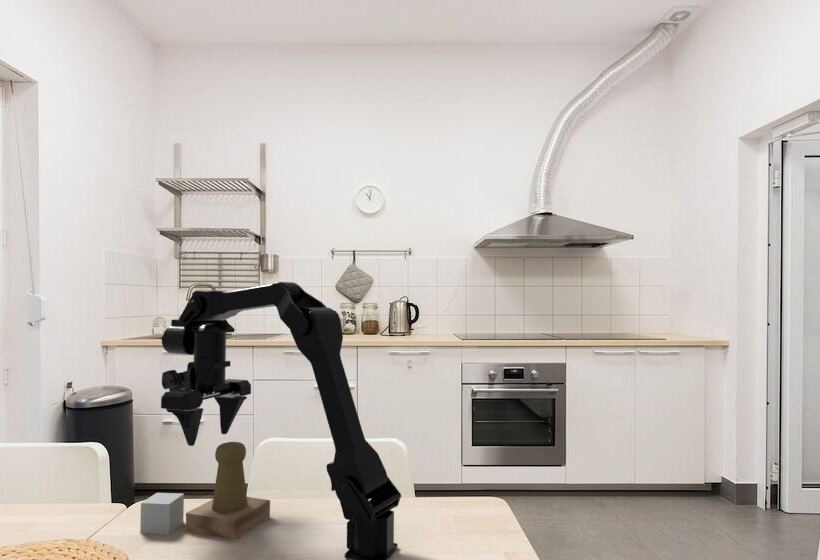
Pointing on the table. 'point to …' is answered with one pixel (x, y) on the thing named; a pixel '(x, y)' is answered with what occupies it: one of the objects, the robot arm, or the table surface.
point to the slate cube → (162, 513)
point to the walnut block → (227, 519)
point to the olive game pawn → (230, 478)
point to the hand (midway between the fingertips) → (208, 439)
